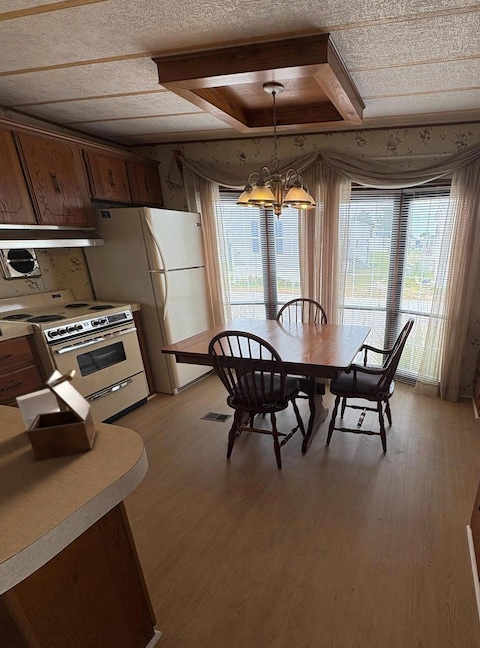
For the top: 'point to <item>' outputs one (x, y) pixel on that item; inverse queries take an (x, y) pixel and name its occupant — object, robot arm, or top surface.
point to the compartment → (60, 434)
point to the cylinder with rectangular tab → (37, 405)
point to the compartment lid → (68, 393)
